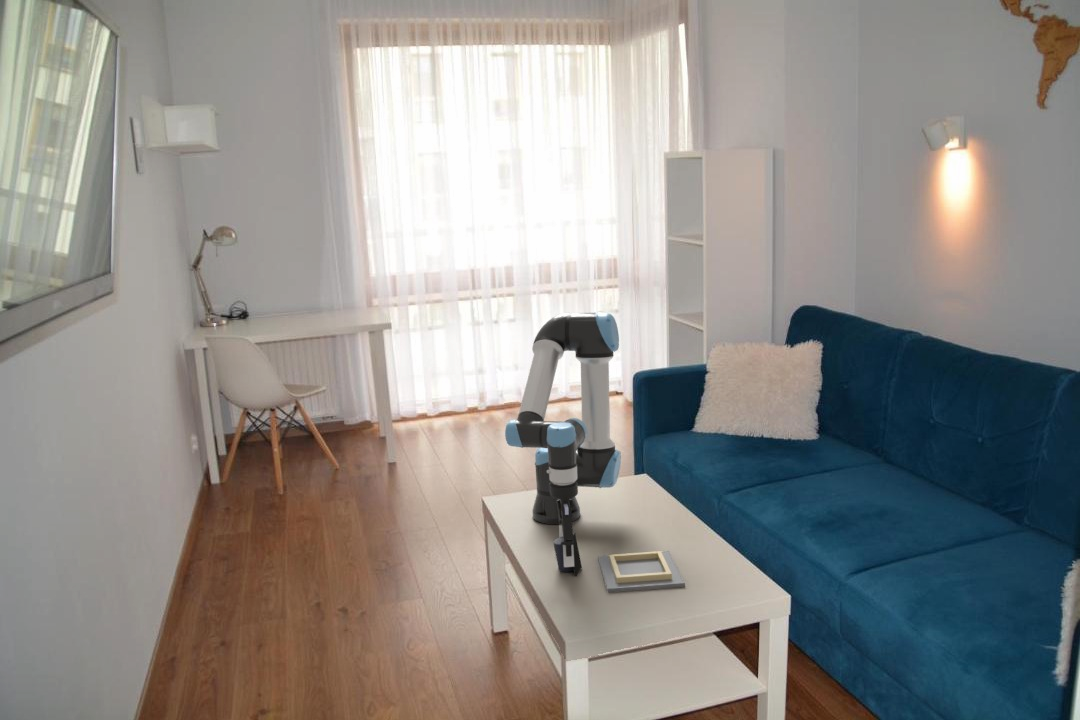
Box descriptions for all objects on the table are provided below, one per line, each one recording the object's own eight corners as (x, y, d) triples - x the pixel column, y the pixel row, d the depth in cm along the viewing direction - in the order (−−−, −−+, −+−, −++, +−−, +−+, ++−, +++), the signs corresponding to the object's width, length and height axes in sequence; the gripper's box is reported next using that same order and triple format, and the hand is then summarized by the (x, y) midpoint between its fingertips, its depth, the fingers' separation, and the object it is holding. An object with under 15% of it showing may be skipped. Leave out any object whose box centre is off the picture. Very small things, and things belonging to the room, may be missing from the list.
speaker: (588, 567, 235) (582, 532, 233) (576, 576, 231) (570, 540, 229) (567, 564, 240) (561, 529, 238) (554, 572, 236) (548, 537, 234)
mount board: (598, 559, 240) (597, 551, 240) (669, 554, 241) (668, 546, 241) (607, 592, 221) (607, 583, 220) (684, 586, 222) (684, 577, 221)
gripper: (546, 467, 242) (550, 539, 246) (552, 497, 218) (556, 576, 222) (573, 465, 242) (576, 537, 246) (582, 495, 218) (585, 574, 223)
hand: (567, 556), depth 234 cm, fingers open, 12 cm apart
